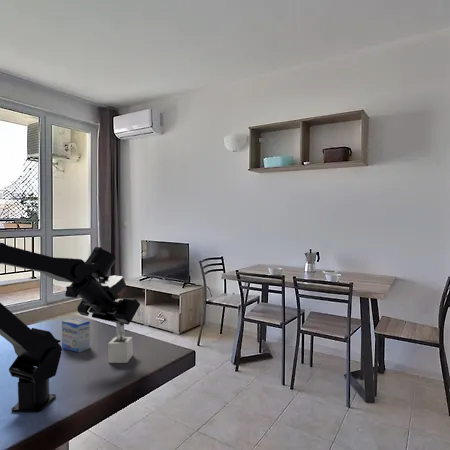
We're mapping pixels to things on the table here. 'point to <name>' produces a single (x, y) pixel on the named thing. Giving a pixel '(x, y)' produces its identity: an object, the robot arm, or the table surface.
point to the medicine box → (75, 335)
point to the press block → (120, 350)
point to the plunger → (119, 331)
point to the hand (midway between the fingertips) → (123, 322)
